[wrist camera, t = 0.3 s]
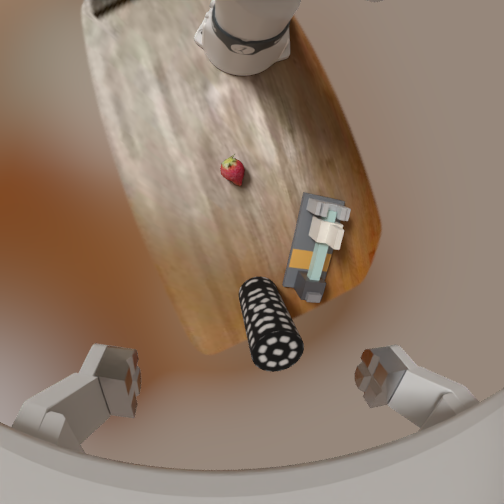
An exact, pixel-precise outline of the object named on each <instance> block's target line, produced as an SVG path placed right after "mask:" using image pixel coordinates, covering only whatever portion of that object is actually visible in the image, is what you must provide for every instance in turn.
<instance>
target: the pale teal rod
mask: <svg viewBox="0 0 504 504" xmlns="http://www.w3.org/2000/svg"><path fill="white" fill-rule="evenodd" d="M336 214H337V212H336V211H333V210H328V212H327V216H326V217H323V216H322V218H321V219H322V220H324V221H328V222H333V223H335V219H336ZM328 247H329V245H328V244H326V243H320V242H316V243H315V247H314V251H313V255H312V259H311V262H310V266H309V270H308V274H307V276H308V278H309V279H310V280H318V281H319V280H320V276H321V273H322V269H323V265H324V262H325V258H326V254H327V250H328Z"/></svg>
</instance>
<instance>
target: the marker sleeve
mask: <svg viewBox="0 0 504 504" xmlns="http://www.w3.org/2000/svg"><path fill="white" fill-rule="evenodd" d="M321 218H322V217H317V216H313V218H312V222H311V227H310V231H309V236H310V237H311V238H312V239H313V240H315V241H316V242H320V243H326V244H328V245H329V246H330V247H331V248H333V249H336V250H339V249H340V246H341V242H342V238H343V234H344V230H343V225H342V224H340V223H339V222H337V221H335V223H333V222H328V221H324V220H322V219H321Z"/></svg>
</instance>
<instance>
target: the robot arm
mask: <svg viewBox="0 0 504 504" xmlns="http://www.w3.org/2000/svg"><path fill="white" fill-rule="evenodd" d="M367 1H371V2H378V1H383V0H367ZM300 2H301V0H212V1H211V3H210V6H209V7H210V8H211V9H210V10H209V12H207V13H206V16H205V18H204V20H203V22H202V24H201V25H200V27H199V29H198V31H197V32H196V34H195V36H194V41H195V42H196V43H197V44H198V45H199V46H200V47H202V48H203V49H204V51H205V52H206V55H207V57H208V58H209V60H210V61H211V62H212V63H213V64H214V65H215V66H216V67H217V68H219V69H220V70H222V71H224V72H226V73H229V74H233V75H240V76H246V75H253V74H257V73H260V72H262V71H264V70H266V69H267V68H269V67H270V66H271V65H272V64H273V63H275V62H277V61H281V60H284V59H287V58H288V57H289V55H290V36H289V25H290V19H291V18H292V16H293V15H294V13H295V12H296V10H297V9H298V7H299V5H300ZM201 33H202V34H201ZM361 360H362V362H361V363H360V364H359V365H358V366H357V368H356V371H355V382H356V385H357V387H358V389H360V390H361V391H363V392H364V395H363V397H364V399H365V401H366V402H367V404H368V405H369V407H370V408H373V407H378V406H383V405H387V404H388V406H389V407H391V408H392V409H394V410H395V411H396V412H398V413H399V414H401V415H402V416H404V417H405V418H407V419H408V420H409V421H411V422H412V423H414V424H415V425H417V426H418V427H420V430H419V431H418V432H417V433H414V434H411V435H409V436H406V437H403V438H401V439H398V440H395V441H392V442H389V443H386V444H383V445H380V446H376V447H373V448H370V449H366V450H362V451H359V452H355V453H351V454H347V455H343V456H339V457H334V458H329V459H325V460H319V461H315V462H309V463H302V464H295V465H289V466H281V467H280V466H279V467H270V468H258V469H244V470H243V469H241V470H193V469H176V468H164V467H155V466H147V465H140V464H134V463H127V462H122V461H116V460H111V459H107V458H102V457H97V456H93V455H89V454H86V453H85V452H84V450H83V448H82V447H81V445H80V444H81V443H82V442H84V440H86V439H87V438H88V437H89V436H90V435H91V434H92V433H93V432H94V431H95V430H96V429H97V428H99V427H100V425H102V424H103V423H104V422H105V421H106V420H107V419H108V418H109V417H110V415H115V416H121V417H129V418H134V417H135V413H136V408H137V400H136V396H138V395H139V394H140V389H141V372H140V368H139V367H138V366H137V362H138V353H137V350H135V349H129V348H122V347H115V346H108V345H102V344H94V345H93V346H92V347H91V349H90V351H89V353H88V355H87V357H86V359H85V361H84V363H83V365H82V367H81V369H80V371H79V373H73V374H72V375H70V376H68V377H66V378H65V379H63V380H61V381H60V382H58V383H56V384H54V385H53V386H51V387H49V388H47V389H45V390H44V391H42V392H40V393H38V394H36V395H35V396H33V397H31V398H29V399H28V400H26V401H25V402H24V403H23V405H22V407H21V409H20V411H19V413H18V415H17V417H16V419H15V421H14V423H13V425H12V427H9V426H7V425H5V424H3V423H1V422H0V504H504V388H503V389H501V390H499V391H498V392H496V393H495V394H493V395H491V396H490V397H488V398H487V399H485V400H483V401H481V402H479V401H478V400H477V399H476V398H475V396H473V394H472V393H471V392H470V391H469V390H468V389H467V388H466V387H465V386H464V385H462V384H459V383H457V382H455V381H452V380H450V379H448V378H446V377H443V376H441V375H439V374H437V373H434V372H432V371H430V370H428V369H425V368H423V367H418V366H417V365H416V364H415V362H414V361H413V360H412V359H411V358H410V357H409V356H408V355H407V353H406V352H405V351H404V350H403V349H402V348H401V347H400V346H399V345H391V346H386V347H379V348H372V349H365V350H364V352H363V353H362V356H361Z"/></svg>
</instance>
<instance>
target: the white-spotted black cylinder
mask: <svg viewBox="0 0 504 504" xmlns="http://www.w3.org/2000/svg"><path fill="white" fill-rule="evenodd" d="M239 300H240V305H241V310H242V315H243V320H244V324H245V329H246V334H247V338H248V343H249V348H250V352H251V357H252V360H253V362H254V364H255V365H256V366H257V367H259V368H260V369H262V370H266V371H272V372H273V371H281V370H284V369H287V368H289V367H291V366H292V365H294V364H295V363H296V362H297V361H298V360H299V359H300V357H301V356H302V353H303V350H304V344H303V341H302V339H301V337H300V335H299V333H298V331H297V329H296V327H295V324H294V323H293V320H292V318H291V316H290V314H289V312H288V310H287V308H286V306H285V304H284V302H283V300H282V298H281V296H280V294H279V292H278V290H277V288H276V286H275V284H274V283H273V282H272V281H271V280H270V279H268V278H265V277H254V278H251V279H249V280H247V281H246V282H245V283H244V284H243V285H242V286H241V288H240V291H239Z"/></svg>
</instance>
